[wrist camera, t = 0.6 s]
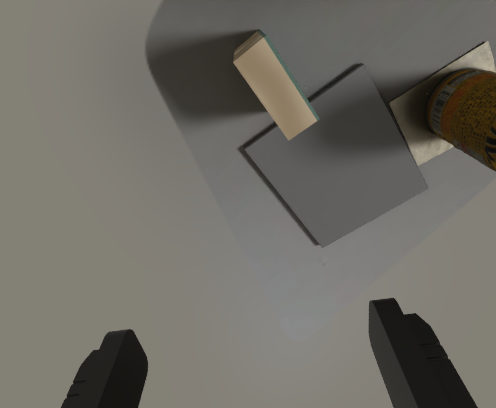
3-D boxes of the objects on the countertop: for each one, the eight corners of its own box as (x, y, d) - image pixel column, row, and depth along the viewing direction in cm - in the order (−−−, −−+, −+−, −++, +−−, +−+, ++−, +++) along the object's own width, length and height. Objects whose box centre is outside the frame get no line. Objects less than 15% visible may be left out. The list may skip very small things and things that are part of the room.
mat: (361, 63, 27) (364, 64, 27) (425, 185, 33) (428, 188, 32) (244, 147, 30) (244, 149, 30) (321, 244, 36) (322, 248, 36)
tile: (259, 29, 26) (266, 35, 19) (300, 93, 28) (320, 119, 21) (234, 49, 26) (233, 62, 19) (276, 110, 29) (288, 140, 22)
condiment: (507, 115, 30) (653, 170, 19) (416, 165, 32) (502, 239, 21) (486, 40, 27) (645, 57, 16) (387, 102, 29) (470, 151, 18)
